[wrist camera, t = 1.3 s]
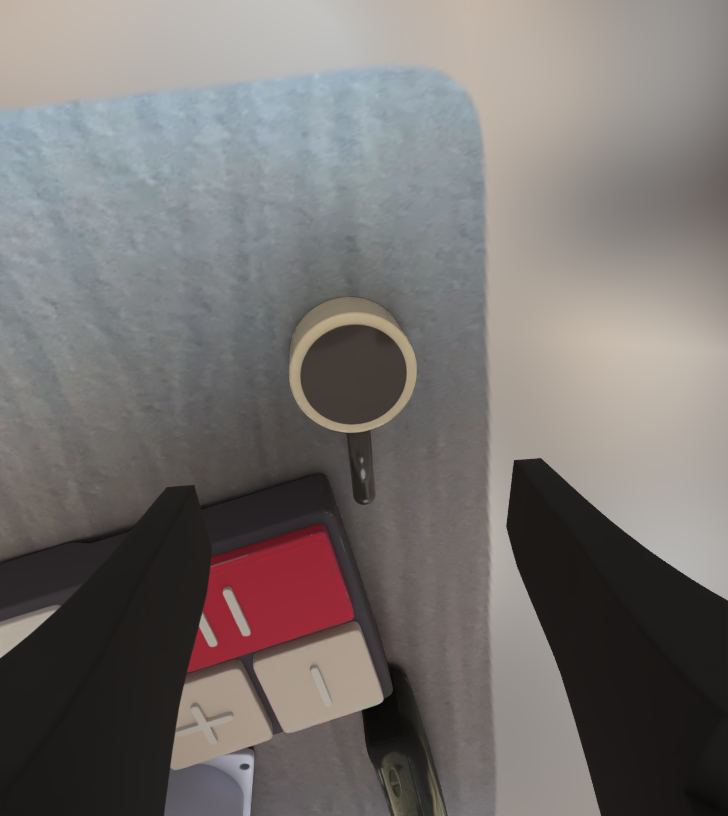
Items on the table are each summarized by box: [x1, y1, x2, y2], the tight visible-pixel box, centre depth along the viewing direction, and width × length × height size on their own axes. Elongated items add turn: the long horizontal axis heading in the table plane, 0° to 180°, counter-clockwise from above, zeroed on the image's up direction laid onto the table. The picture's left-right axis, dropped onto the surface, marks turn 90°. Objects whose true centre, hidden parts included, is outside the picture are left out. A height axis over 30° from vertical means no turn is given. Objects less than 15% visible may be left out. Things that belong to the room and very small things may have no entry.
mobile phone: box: [362, 669, 448, 816], centre depth 30 cm, size 5×3×15 cm
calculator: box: [0, 475, 393, 770], centre depth 25 cm, size 11×4×15 cm
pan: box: [289, 297, 417, 505], centre depth 22 cm, size 8×5×2 cm, turn 5°
